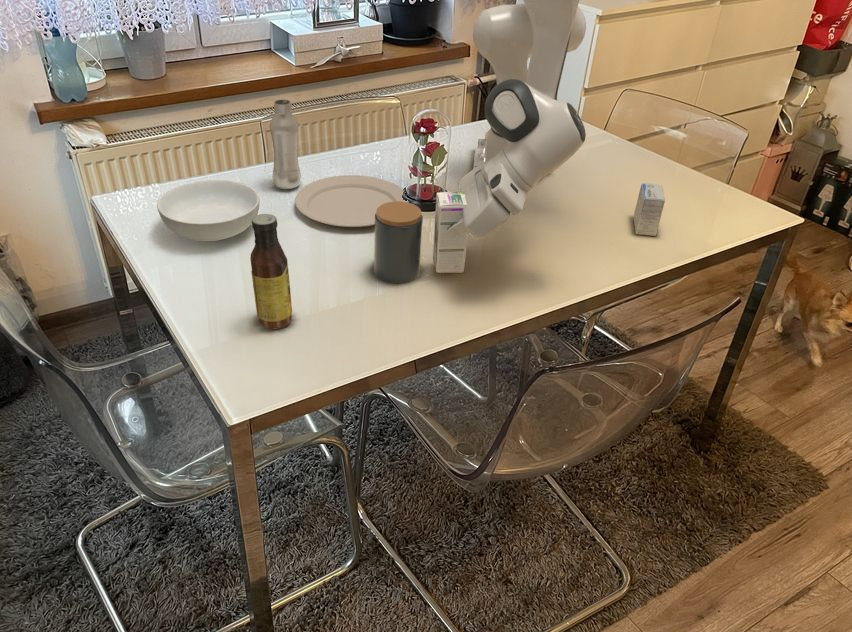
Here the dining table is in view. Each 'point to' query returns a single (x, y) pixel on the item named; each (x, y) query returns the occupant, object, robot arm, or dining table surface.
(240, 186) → the serving bowl
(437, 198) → the syrup box
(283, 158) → the plastic bottle
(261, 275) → the sauce bottle
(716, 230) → the dining table surface
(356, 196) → the plate
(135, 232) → the dining table surface
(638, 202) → the medicine box
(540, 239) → the dining table surface
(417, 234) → the canister
